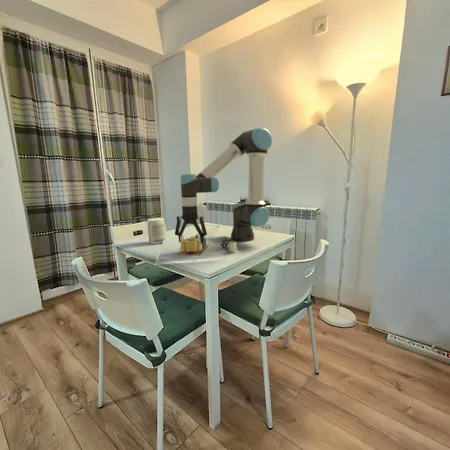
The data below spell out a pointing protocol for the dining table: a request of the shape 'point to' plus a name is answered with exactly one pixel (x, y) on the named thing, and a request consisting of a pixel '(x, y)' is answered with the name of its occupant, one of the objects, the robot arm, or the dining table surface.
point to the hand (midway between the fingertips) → (191, 248)
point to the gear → (203, 242)
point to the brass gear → (190, 244)
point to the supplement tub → (156, 230)
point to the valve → (229, 245)
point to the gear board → (193, 251)
